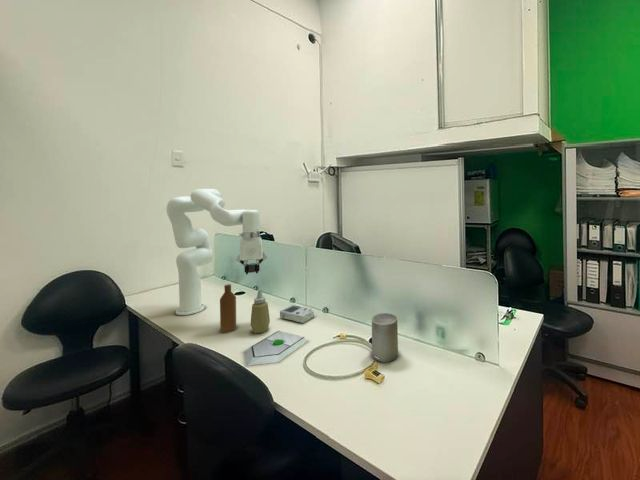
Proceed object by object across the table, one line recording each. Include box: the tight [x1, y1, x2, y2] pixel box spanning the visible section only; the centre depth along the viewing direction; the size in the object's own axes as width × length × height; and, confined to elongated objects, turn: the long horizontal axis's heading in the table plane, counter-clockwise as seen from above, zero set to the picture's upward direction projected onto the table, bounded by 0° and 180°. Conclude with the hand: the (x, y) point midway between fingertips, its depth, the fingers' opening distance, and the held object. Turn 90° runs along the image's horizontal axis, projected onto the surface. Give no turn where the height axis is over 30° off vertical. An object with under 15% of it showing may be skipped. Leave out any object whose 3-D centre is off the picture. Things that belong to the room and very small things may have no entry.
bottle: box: [219, 283, 237, 334], centre depth 133 cm, size 6×6×20 cm
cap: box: [247, 262, 257, 274], centre depth 143 cm, size 4×4×4 cm
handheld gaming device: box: [279, 304, 315, 324], centre depth 144 cm, size 9×15×4 cm, turn 63°
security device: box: [244, 330, 307, 366], centre depth 115 cm, size 17×22×2 cm
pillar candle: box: [370, 312, 399, 363], centre depth 110 cm, size 10×10×15 cm
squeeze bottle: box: [249, 289, 271, 334], centre depth 131 cm, size 8×8×18 cm
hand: (252, 272), depth 143 cm, fingers closed on cap, 3 cm apart
